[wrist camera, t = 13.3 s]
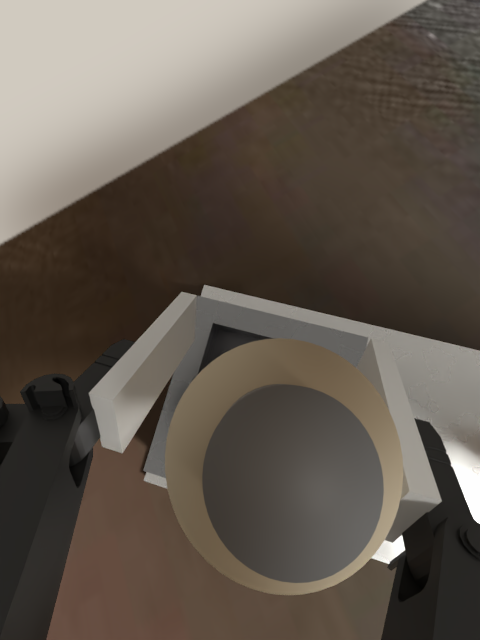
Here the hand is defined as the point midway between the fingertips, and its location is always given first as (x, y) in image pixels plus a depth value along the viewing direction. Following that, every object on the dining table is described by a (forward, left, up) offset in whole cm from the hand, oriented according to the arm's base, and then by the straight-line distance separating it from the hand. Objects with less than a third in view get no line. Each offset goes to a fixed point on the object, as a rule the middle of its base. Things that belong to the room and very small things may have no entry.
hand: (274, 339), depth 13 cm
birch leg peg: (0, +3, -6) cm, 7 cm away
